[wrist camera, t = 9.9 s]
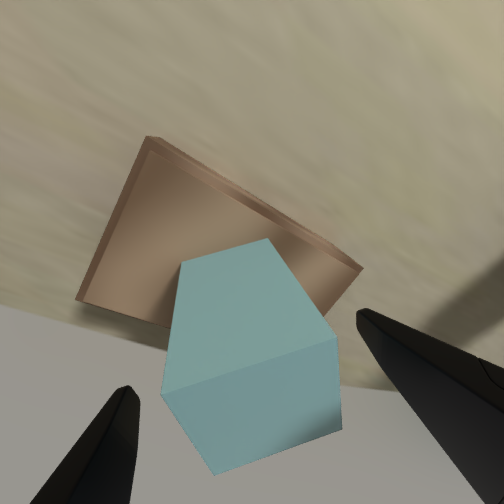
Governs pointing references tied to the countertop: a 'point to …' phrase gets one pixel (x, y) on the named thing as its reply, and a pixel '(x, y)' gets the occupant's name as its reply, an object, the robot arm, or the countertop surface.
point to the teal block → (249, 358)
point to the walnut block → (195, 237)
